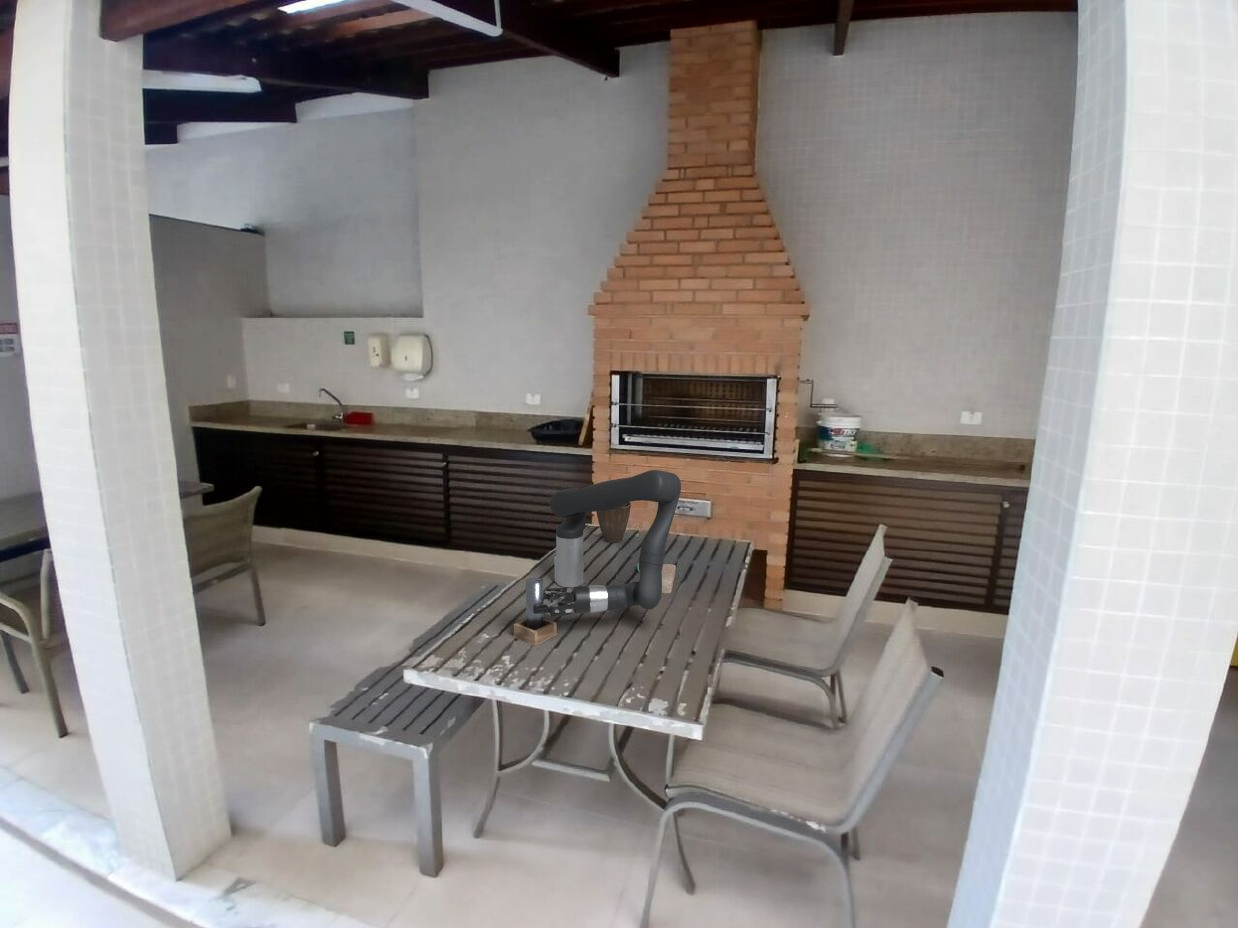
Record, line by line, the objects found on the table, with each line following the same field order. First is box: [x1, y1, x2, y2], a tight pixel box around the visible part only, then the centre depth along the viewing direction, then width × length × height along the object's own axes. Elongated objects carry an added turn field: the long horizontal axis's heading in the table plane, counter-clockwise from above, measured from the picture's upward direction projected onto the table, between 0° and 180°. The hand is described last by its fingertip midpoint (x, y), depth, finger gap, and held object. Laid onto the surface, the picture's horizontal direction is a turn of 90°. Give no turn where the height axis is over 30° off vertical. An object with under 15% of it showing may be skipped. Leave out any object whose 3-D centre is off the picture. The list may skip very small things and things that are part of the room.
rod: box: [525, 577, 545, 631], centre depth 175 cm, size 5×5×16 cm
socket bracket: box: [512, 617, 559, 647], centre depth 177 cm, size 9×9×4 cm
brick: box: [662, 563, 677, 594], centre depth 218 cm, size 17×8×5 cm, turn 170°
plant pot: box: [596, 502, 632, 544], centre depth 265 cm, size 15×15×16 cm
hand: (532, 603), depth 175 cm, fingers open, 8 cm apart
